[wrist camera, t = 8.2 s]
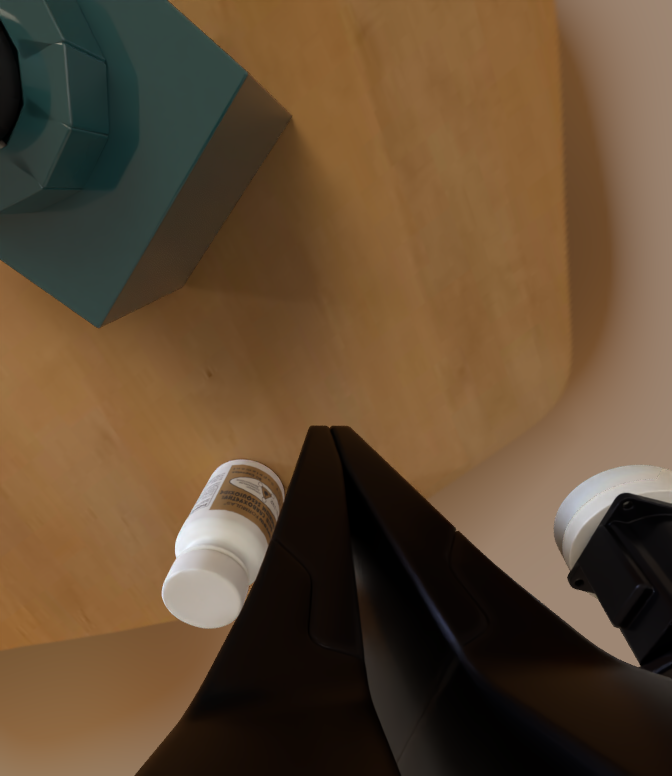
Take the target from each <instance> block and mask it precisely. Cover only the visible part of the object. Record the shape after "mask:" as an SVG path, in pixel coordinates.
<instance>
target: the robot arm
mask: <svg viewBox="0 0 672 776" xmlns="http://www.w3.org/2000/svg"><path fill="white" fill-rule="evenodd" d="M628 501H629V502H628ZM625 502H628V503H627V504H625V505H624V503H625ZM567 578H568V581H569V583H570V585H571V586H572V588H575V589H578V590H582V591H586V592H590V593H594V594H596V596H597V598H598V600H599V602H600V603H601V605H602V607H603V608H604V611H605V612H606V614H607V616H608V618H609V620H610V621H611V623H612V625H613V626H614V627H617V628H619V629H620V630H621V632H622V634H623V636H624V637H625V639H626V641H627V643H628V644H629V646H630V648H631V650H632V651H633V653H634V655H635V657H636V658H637V660H638V662H639V664H640V667H636V666H633V665H631V664H628V663H626V662H624V661H622V660H619V659H617V658H615V657H614V656H612V655H610V654H608V653H607V652H605V651H603V650H602V649H600V648H598V647H597V646H596V645H594V644H593V643H592V642H590V641H589V640H588V639H586V638H585V637H584V636H582V635H581V634H580V633H579V632H577V631H576V630H575V629H574V628H572V627H571V626H570V625H569V624H567V623H566V622H565V621H564V620H562V619H561V618H560V617H559V616H557V615H556V614H555V613H554V612H552V611H551V610H550V609H549V608H547V607H546V606H545V605H543V604H542V603H541V602H540V601H539V600H537V599H536V598H535V597H534V596H533V595H531V594H530V593H529V592H528V591H526V590H525V589H524V588H522V587H521V586H520V585H519V584H517V583H516V582H515V581H514V580H513V579H512V578H510V577H509V576H508V575H507V574H506V573H505V572H503V571H502V570H501V569H500V568H499V567H497V566H496V565H495V564H494V563H493V562H492V561H491V560H490V559H488V558H487V557H486V556H485V555H484V554H483V553H482V552H481V551H480V550H479V549H477V548H476V547H475V546H474V545H473V544H472V543H471V542H470V541H469V540H468V539H467V538H466V537H465V536H464V535H462V533H460V532H459V531H456V528H455V527H454V526H453V525H452V524H451V523H450V522H449V521H448V520H447V519H446V518H445V517H444V516H443V515H442V514H440V513H439V512H438V511H437V510H436V509H435V508H434V507H433V506H432V505H431V504H430V503H429V502H428V501H427V500H426V499H425V498H424V497H423V496H422V495H421V494H420V493H419V492H418V491H416V490H415V489H414V488H413V487H412V486H411V485H410V484H409V483H408V482H407V481H406V480H405V479H404V478H403V477H402V476H401V475H400V474H399V473H398V472H397V471H396V470H395V469H393V468H392V467H391V466H390V465H389V464H388V463H387V462H386V461H385V460H384V459H383V458H382V457H381V456H380V455H379V454H378V453H377V452H376V451H375V450H374V449H373V448H372V447H371V446H369V445H368V444H367V443H366V442H365V441H364V440H363V439H362V438H361V437H360V436H359V435H358V434H357V433H356V432H355V431H354V430H353V429H352V428H351V427H349V426H331V427H330V428H329V427H328V426H310V427H309V429H308V432H307V435H306V438H305V441H304V444H303V447H302V449H301V452H300V455H299V458H298V461H297V464H296V467H295V470H294V473H293V476H292V479H291V481H290V484H289V487H288V490H287V493H286V496H285V499H284V502H283V505H282V508H281V511H280V514H279V516H278V519H277V522H276V525H275V528H274V531H273V534H272V537H271V540H270V542H269V545H268V548H267V551H266V554H265V557H264V559H263V562H262V564H261V567H260V569H259V572H258V575H257V577H256V580H255V582H254V584H253V586H252V588H251V590H250V592H249V595H248V597H247V599H246V601H245V603H244V605H243V607H242V609H241V611H240V613H239V615H238V617H237V619H236V621H235V623H234V625H233V626H232V628H231V630H230V632H229V634H228V636H227V638H226V640H225V642H224V644H223V646H222V647H221V650H220V651H219V653H218V655H217V657H216V659H215V661H214V663H213V665H212V667H211V669H210V670H209V672H208V674H207V676H206V678H205V680H204V682H203V683H202V685H201V687H200V689H199V691H198V692H197V694H196V696H195V697H194V699H193V701H192V702H191V704H190V706H189V707H188V709H187V710H186V712H185V713H184V715H183V716H182V718H181V719H180V721H179V722H178V724H177V725H176V726H175V727H174V728H173V730H172V731H171V732H170V733H169V735H168V736H167V737H166V738H165V739H164V741H163V742H162V743H161V744H160V745H159V747H158V748H157V749H156V750H155V751H154V753H153V754H152V755H151V756H150V757H149V759H148V760H147V761H146V762H145V764H144V765H143V766H142V767H141V768H140V770H139V771H138V772H137V773H136V775H135V776H672V503H668V502H664V501H660V500H656V499H652V498H648V497H644V496H640V495H636V494H632V493H621V494H619V495H618V496H617V497H616V498H615V499H614V501H613V503H612V504H611V506H610V508H609V509H608V511H607V512H606V514H605V516H604V517H603V519H602V521H601V522H600V524H599V525H598V527H597V529H596V530H595V532H594V534H593V535H592V537H591V539H590V540H589V542H588V543H587V545H586V547H585V548H584V550H583V552H582V553H581V555H580V557H579V558H578V560H577V561H576V563H575V565H574V566H573V568H572V570H571V571H570V573H569V574H568V577H567ZM578 579H580V580H578Z"/></svg>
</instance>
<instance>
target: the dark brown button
mask: <svg viewBox="0 0 672 776" xmlns="http://www.w3.org/2000/svg"><path fill="white" fill-rule="evenodd" d="M20 93H21V90H20V77H19V71H18V67H17V63H16V59H15V56H14V53H13V51H12V48H11V45H10V43H9V41H8V39H7V37H6V35H5V33H4V32H3V30H2V28H1V27H0V141H1V140H2V139H3V138H4V137H5V136H6V135H7V133H8V132H9V131H10V129H11V128H12V126H13V124H14V122H15V120H16V117H17V114H18V110H19V104H20Z"/></svg>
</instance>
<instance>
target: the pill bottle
mask: <svg viewBox="0 0 672 776" xmlns="http://www.w3.org/2000/svg"><path fill="white" fill-rule="evenodd" d="M283 502H284V488H283V485H282V483H281V480H280V479H279V478H278V476H277V475H276V474H275V473H274V472H273V471H272V470H271V469H269V468H268V467H266V466H265V465H263V464H261V463H259V462H256V461H252V460H244V459H239V460H232V461H229V462H227V463H225V464H223V465H221V466H220V467H218V468H217V469H216V470H215V472H214V473H213V474H212V476H211V478H210V479H209V481H208V483H207V484H206V486H205V488H204V489H203V491H202V493H201V495H200V497H199V498H198V500H197V502H196V504H195V506H194V507H193V509H192V511H191V513H190V515H189V516H188V518H187V520H186V521H185V523H184V525H183V526H182V528H181V530H180V532H179V534H178V537H177V539H176V544H175V554H176V560H175V562H174V563H173V565H172V567H171V569H170V571H169V573H168V575H167V577H166V579H165V582H164V584H163V587H162V598H163V601H164V604H165V605H166V607H167V608H168V610H169V611H170V612H171V613H172V614H173V615H174V616H175V617H177V618H178V619H180V620H181V621H183V622H185V623H187V624H190V625H193V626H197V627H200V628H218V627H223V626H225V625H228V624H230V623H231V622H232V621H234V620H235V619H236V618H237V617H238V615H239V613H240V611H241V609H242V607H243V604H244V601H245V598H246V595H247V593H248V587H249V585H250V584H252V583H253V582H254V581H255V580H256V577H257V575H258V572H259V569H260V567H261V564H262V562H263V559H264V557H265V554H266V551H267V548H268V545H269V542H270V540H271V537H272V534H273V531H274V528H275V525H276V522H277V519H278V516H279V514H280V511H281V508H282V505H283Z"/></svg>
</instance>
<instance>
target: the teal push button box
mask: <svg viewBox="0 0 672 776" xmlns="http://www.w3.org/2000/svg"><path fill="white" fill-rule="evenodd" d="M0 27H1V28H2V30H3V32H4V33H5V35H6V37H7V39H8V41H9V43H10V45H11V48H12V51H13V53H14V56H15V59H16V63H17V67H18V71H19V77H20V90H21V93H20V104H19V110H18V114H17V117H16V120H15V122H14V124H13V126H12V128H11V129H10V131H9V132H8V133H7V135H6V136H5V137H4V138H3V139H2V140H1V141H0V260H1V261H3V262H4V263H6V264H7V265H9V266H10V267H11V268H13V269H14V270H16V271H17V272H19V273H20V274H21V275H23V276H24V277H26V278H27V279H28V280H30V281H31V282H33V283H34V284H36V285H37V286H38V287H40V288H41V289H43V290H44V291H45V292H47V293H48V294H50V295H51V296H53V297H54V298H55V299H57V300H58V301H60V302H61V303H63V304H64V305H65V306H67V307H68V308H70V309H71V310H72V311H74V312H75V313H77V314H78V315H80V316H81V317H82V318H84V319H85V320H87V321H88V322H90V323H91V324H92V325H94V326H95V327H97V328H101V327H103V326H105V325H107V324H109V323H111V322H113V321H115V320H117V319H119V318H121V317H123V316H125V315H127V314H129V313H131V312H133V311H135V310H137V309H139V308H141V307H143V306H145V305H147V304H149V303H151V302H153V301H156V300H158V299H160V298H162V297H164V296H166V295H168V294H170V293H172V292H174V291H176V290H178V289H180V288H182V287H183V285H184V284H185V282H186V281H187V279H188V278H189V276H190V275H191V273H192V271H193V270H194V268H195V267H196V265H197V264H198V262H199V261H200V259H201V258H202V256H203V254H204V253H205V251H206V250H207V248H208V247H209V245H210V244H211V242H212V240H213V239H214V237H215V236H216V234H217V233H218V231H219V230H220V228H221V227H222V225H223V223H224V222H225V220H226V219H227V217H228V216H229V214H230V213H231V211H232V209H233V208H234V206H235V205H236V203H237V202H238V200H239V199H240V197H241V196H242V194H243V192H244V191H245V189H246V188H247V186H248V185H249V183H250V182H251V180H252V178H253V177H254V175H255V174H256V172H257V171H258V169H259V168H260V166H261V165H262V163H263V161H264V160H265V158H266V157H267V155H268V154H269V152H270V151H271V149H272V147H273V146H274V144H275V143H276V141H277V140H278V138H279V137H280V135H281V134H282V132H283V130H284V129H285V127H286V126H287V124H288V123H289V121H290V120H291V118H292V115H291V114H290V113H289V112H288V111H287V110H286V109H285V108H284V107H283V106H282V105H281V104H280V103H279V102H278V101H277V100H276V99H275V98H274V97H273V96H272V95H271V94H270V93H269V92H268V91H267V90H266V89H265V88H264V87H263V86H261V85H260V84H259V83H258V82H257V81H256V80H255V79H254V78H253V77H252V76H251V75H250V74H249V73H248V72H247V71H246V70H245V69H244V68H243V67H242V66H241V65H239V64H238V63H237V62H236V61H235V60H234V59H233V58H232V57H230V56H229V55H228V54H227V53H226V52H225V51H224V50H223V49H222V48H220V47H219V46H218V45H217V44H216V43H215V42H214V41H213V40H211V39H210V38H209V37H208V36H207V35H206V34H205V33H204V32H203V31H201V30H200V29H199V28H198V27H197V26H196V25H195V24H194V23H192V22H191V21H190V20H189V19H188V18H187V17H186V16H185V15H184V14H182V13H181V12H180V11H179V10H178V9H177V8H176V7H175V6H173V5H172V4H171V3H170V2H169V1H168V0H0Z"/></svg>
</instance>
